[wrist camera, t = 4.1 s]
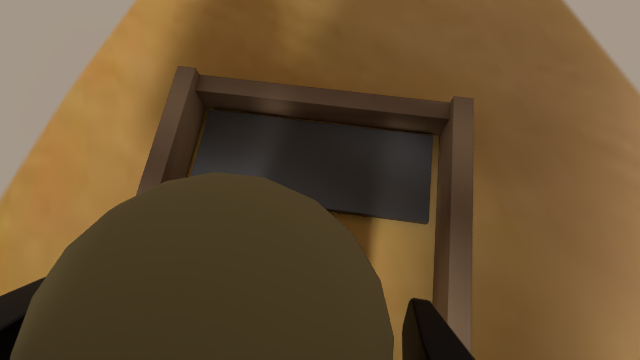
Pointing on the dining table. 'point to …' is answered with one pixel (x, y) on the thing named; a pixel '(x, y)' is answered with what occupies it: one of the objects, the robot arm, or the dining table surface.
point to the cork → (210, 281)
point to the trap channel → (335, 159)
